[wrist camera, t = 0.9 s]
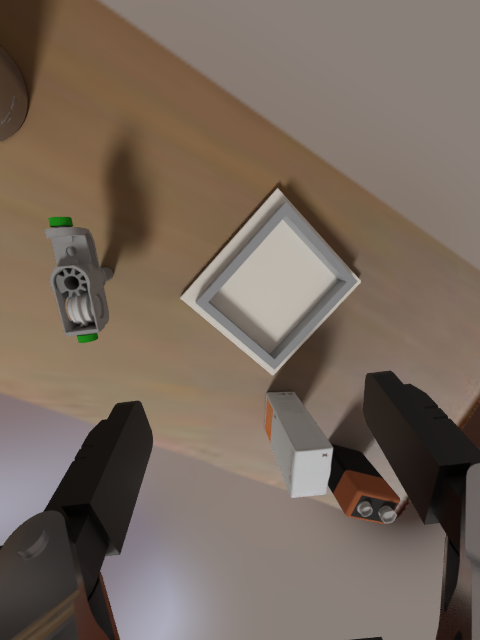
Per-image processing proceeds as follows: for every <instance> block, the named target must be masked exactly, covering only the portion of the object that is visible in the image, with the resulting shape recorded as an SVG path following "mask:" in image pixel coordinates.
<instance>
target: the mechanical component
mask: <svg viewBox="0 0 480 640" xmlns="http://www.w3.org/2000/svg"><path fill="white" fill-rule="evenodd" d="M48 219H49V223H50V227H55V228H49V229H44V230H45V234H46V238H51V241H52V245H53V249H54V253H55V257H56V261H57V265H58V267H54V271H53V272H52V274H51V277H50V285H51V288H52V290H53V292H54V293H55V297H56V301H57V305H58V309H59V313H60V317H61V321H62V325H63V328H64V332H65V336H73V335H77V337H78V342H79V343H86V342H91V341H94V340H96V339H98V335H97V333H98V332H100V331H101V330H102V329H103V328H104V327H105V325H106V324H107V323H108V320H109V310H108V305H107V301H106V296H105V291H104V285H105V283H106V281H108V280H110V279H111V278H112V277H113V271H112V270H111V269H110V268H108V267H99V262H98V258H97V253H96V248H95V243H94V240H93V237H92V234H91V232H90V231H89V230H88V229H85V228H80V227H72V226H73V224H72V219H71V218H70V217H52V218H48ZM67 297H68V303H67V308H68V313H69V315H70V317H71V319H72V321H70V319H69V318H68V316H67V313H66V309H65V301H66V298H67Z"/></svg>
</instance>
